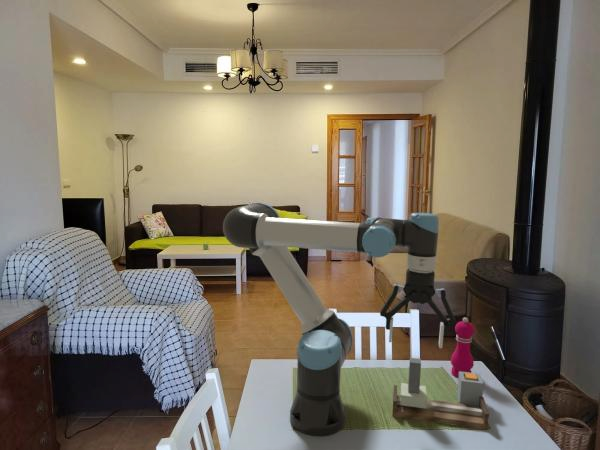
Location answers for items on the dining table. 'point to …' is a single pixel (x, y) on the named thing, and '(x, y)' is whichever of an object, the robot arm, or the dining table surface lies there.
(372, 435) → the dining table surface
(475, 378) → the button
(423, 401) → the carriage
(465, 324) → the pepper mill
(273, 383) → the dining table surface
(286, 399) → the dining table surface
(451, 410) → the rail board
